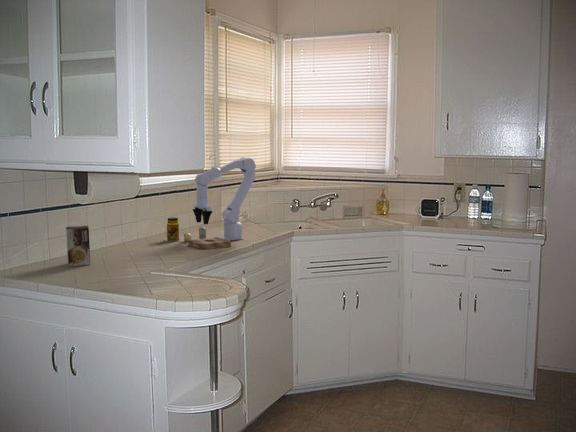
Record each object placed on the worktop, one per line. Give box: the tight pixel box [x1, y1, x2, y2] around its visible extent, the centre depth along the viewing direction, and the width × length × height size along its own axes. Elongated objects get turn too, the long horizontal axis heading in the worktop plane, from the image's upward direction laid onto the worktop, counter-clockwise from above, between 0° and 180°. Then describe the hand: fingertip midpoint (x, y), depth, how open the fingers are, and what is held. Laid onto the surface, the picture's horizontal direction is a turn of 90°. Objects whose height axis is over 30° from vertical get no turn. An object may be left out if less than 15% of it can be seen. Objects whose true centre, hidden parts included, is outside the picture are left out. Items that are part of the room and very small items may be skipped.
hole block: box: [188, 236, 232, 250], centre depth 322 cm, size 16×14×2 cm
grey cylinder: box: [198, 226, 207, 239], centre depth 334 cm, size 4×4×7 cm
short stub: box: [183, 233, 192, 243], centre depth 332 cm, size 4×4×4 cm
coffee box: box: [65, 225, 91, 267], centre depth 275 cm, size 9×6×16 cm
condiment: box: [163, 216, 182, 243], centre depth 334 cm, size 7×8×12 cm
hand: (202, 223), depth 333 cm, fingers open, 7 cm apart
